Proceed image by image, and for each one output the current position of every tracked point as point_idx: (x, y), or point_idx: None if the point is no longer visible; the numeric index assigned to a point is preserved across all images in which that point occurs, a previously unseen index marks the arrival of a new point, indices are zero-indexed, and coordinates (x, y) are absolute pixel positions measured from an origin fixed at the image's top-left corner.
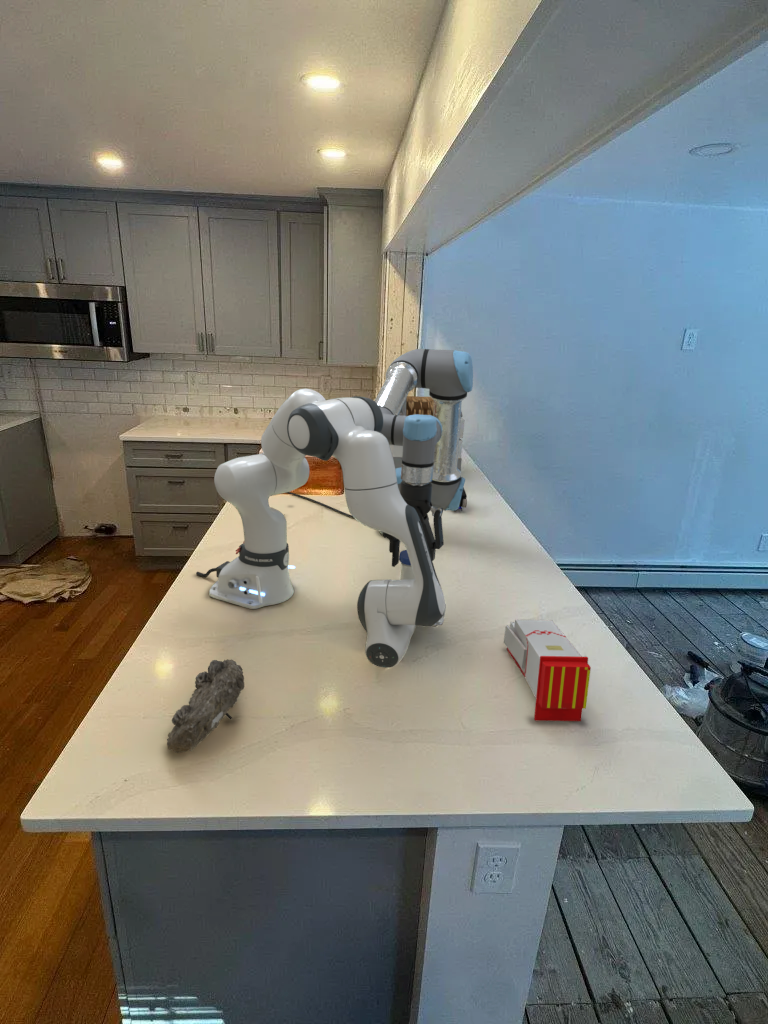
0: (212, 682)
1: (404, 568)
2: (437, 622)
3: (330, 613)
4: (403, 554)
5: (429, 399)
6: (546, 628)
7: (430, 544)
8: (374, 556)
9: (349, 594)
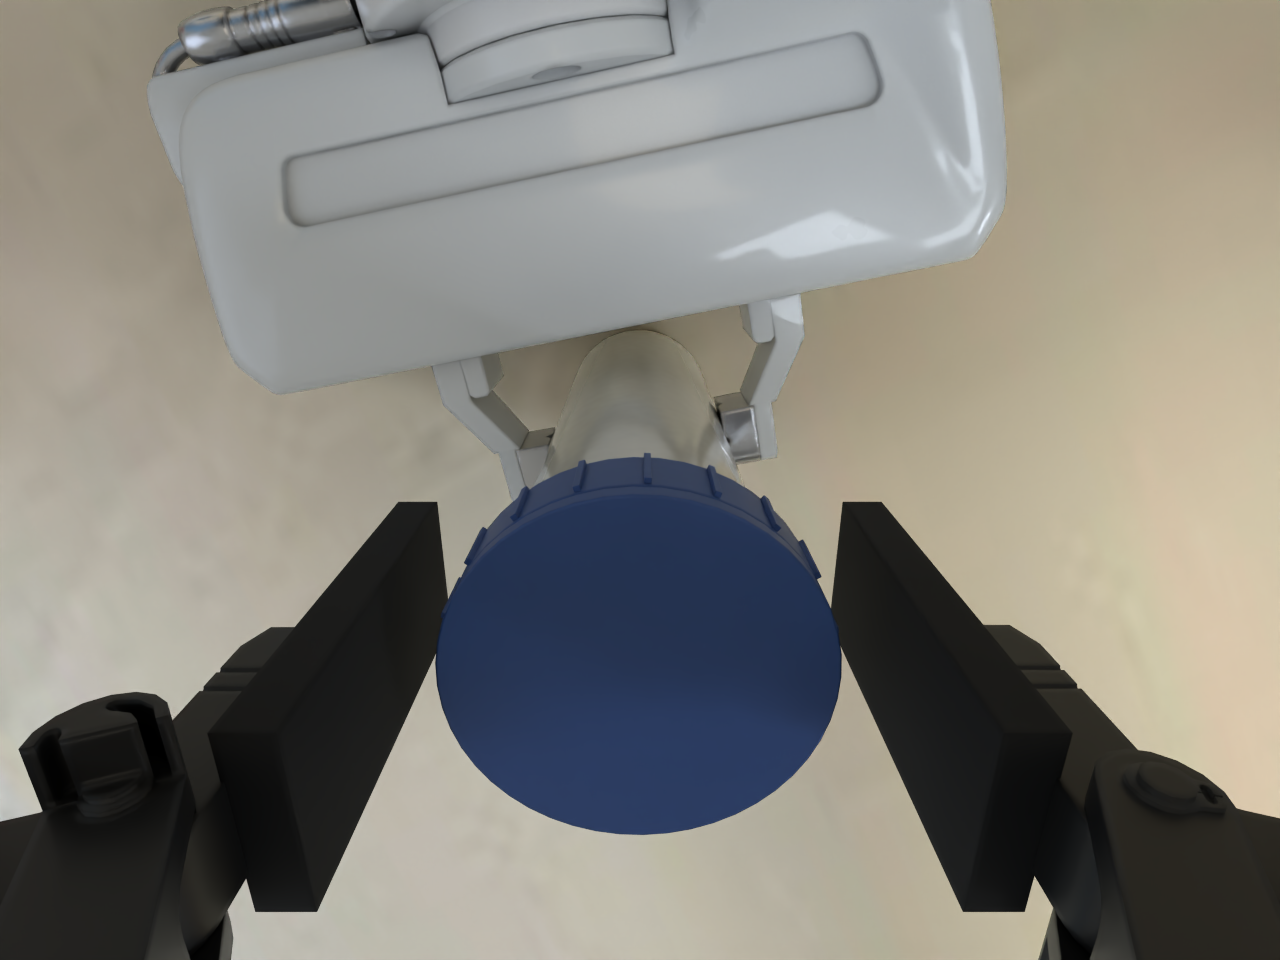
0: None
1: None
2: (185, 72)
3: (1173, 153)
4: (761, 618)
5: None
6: None
7: (68, 868)
8: None
9: (1110, 470)
